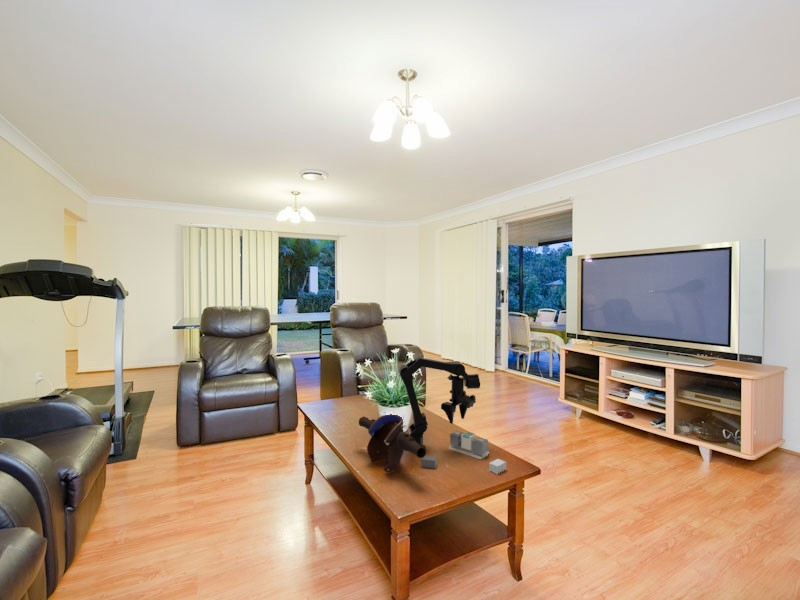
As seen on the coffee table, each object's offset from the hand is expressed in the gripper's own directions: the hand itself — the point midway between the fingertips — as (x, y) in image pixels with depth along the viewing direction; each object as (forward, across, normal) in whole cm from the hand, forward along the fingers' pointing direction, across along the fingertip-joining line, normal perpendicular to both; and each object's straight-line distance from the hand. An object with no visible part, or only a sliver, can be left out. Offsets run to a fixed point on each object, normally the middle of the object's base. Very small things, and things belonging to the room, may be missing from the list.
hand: (457, 421), depth 183 cm
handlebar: (+12, -36, +10) cm, 40 cm away
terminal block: (+12, -9, -27) cm, 31 cm away
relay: (+12, -25, -4) cm, 28 cm away
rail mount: (+12, -2, -8) cm, 14 cm away
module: (+10, -2, -8) cm, 13 cm away
